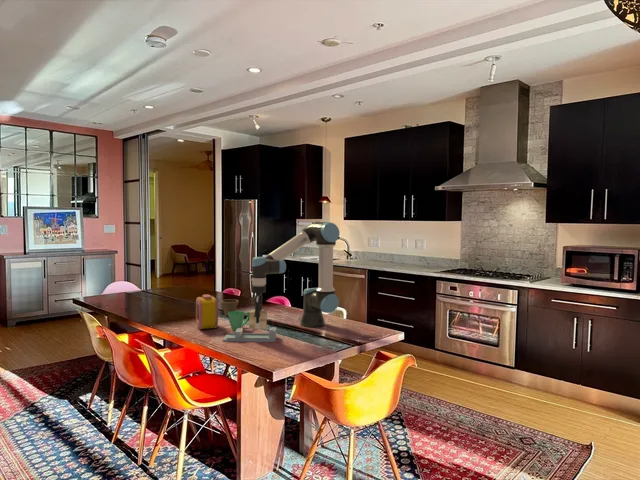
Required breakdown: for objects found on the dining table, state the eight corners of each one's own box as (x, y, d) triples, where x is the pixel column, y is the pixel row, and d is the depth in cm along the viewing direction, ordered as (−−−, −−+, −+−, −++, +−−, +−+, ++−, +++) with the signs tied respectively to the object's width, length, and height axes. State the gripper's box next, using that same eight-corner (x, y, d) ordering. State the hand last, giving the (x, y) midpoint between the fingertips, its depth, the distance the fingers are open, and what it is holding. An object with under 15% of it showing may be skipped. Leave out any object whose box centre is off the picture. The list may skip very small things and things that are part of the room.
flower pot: (239, 316, 306) (239, 301, 305) (221, 317, 303) (221, 302, 302) (237, 313, 317) (237, 298, 316) (221, 313, 314) (221, 299, 313)
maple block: (250, 326, 253) (250, 310, 252) (266, 326, 253) (266, 310, 253) (249, 328, 248) (249, 312, 248) (265, 329, 248) (266, 312, 248)
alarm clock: (195, 324, 282) (195, 293, 281) (213, 323, 286) (213, 292, 285) (199, 331, 265) (199, 298, 264) (218, 330, 269) (218, 297, 268)
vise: (226, 336, 256) (226, 326, 255) (276, 337, 256) (276, 327, 256) (222, 341, 246) (222, 331, 245) (274, 341, 246) (275, 331, 246)
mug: (234, 332, 265) (234, 315, 265) (224, 329, 272) (224, 312, 272) (254, 327, 276) (254, 311, 276) (244, 325, 283) (244, 309, 282)
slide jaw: (237, 334, 255) (237, 328, 255) (242, 334, 255) (242, 328, 255) (234, 338, 246) (234, 332, 246) (240, 338, 246) (240, 332, 246)
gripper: (253, 282, 258) (253, 323, 259) (249, 287, 240) (249, 331, 241) (267, 283, 259) (266, 323, 260) (264, 287, 240) (263, 331, 242)
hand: (258, 327), depth 251 cm, fingers closed on maple block, 5 cm apart
